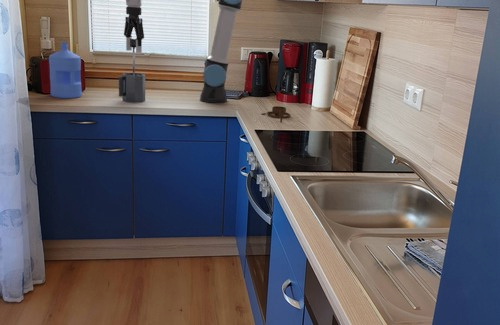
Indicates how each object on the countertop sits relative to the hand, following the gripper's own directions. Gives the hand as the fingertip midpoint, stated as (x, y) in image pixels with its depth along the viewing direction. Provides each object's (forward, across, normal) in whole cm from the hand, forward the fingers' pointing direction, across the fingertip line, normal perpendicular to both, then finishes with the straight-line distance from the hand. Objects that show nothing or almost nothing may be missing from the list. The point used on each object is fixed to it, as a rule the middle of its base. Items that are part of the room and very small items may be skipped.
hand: (133, 51), depth 263 cm
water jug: (+26, -24, -27) cm, 44 cm away
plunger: (+14, 0, 0) cm, 14 cm away
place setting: (+27, +62, +46) cm, 81 cm away
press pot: (+26, 0, -1) cm, 26 cm away
